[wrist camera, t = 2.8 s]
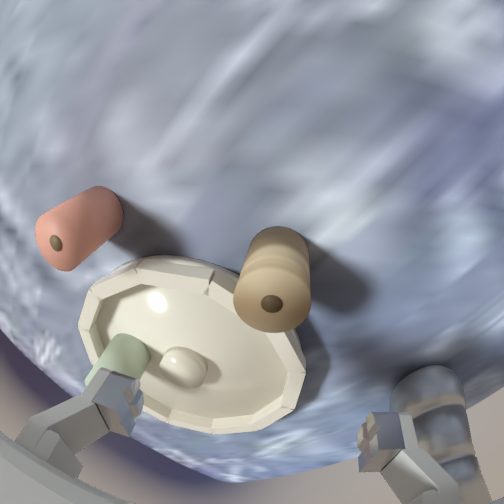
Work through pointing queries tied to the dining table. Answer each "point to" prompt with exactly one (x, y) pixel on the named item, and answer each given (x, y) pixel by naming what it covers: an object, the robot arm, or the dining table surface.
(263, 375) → the tray
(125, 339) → the bead
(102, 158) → the dining table surface
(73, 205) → the bead
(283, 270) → the bead
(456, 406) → the silver metal bottle
